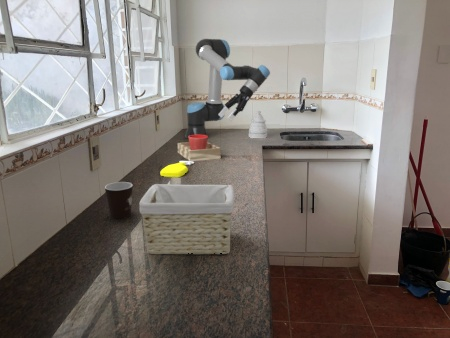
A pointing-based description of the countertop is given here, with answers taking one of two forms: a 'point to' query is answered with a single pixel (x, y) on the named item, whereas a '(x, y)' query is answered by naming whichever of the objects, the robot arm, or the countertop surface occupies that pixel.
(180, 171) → the spray bottle
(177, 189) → the storage basket
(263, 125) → the honey pot
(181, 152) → the pine crate
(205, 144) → the flower pot
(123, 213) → the coffee mug
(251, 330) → the countertop surface
